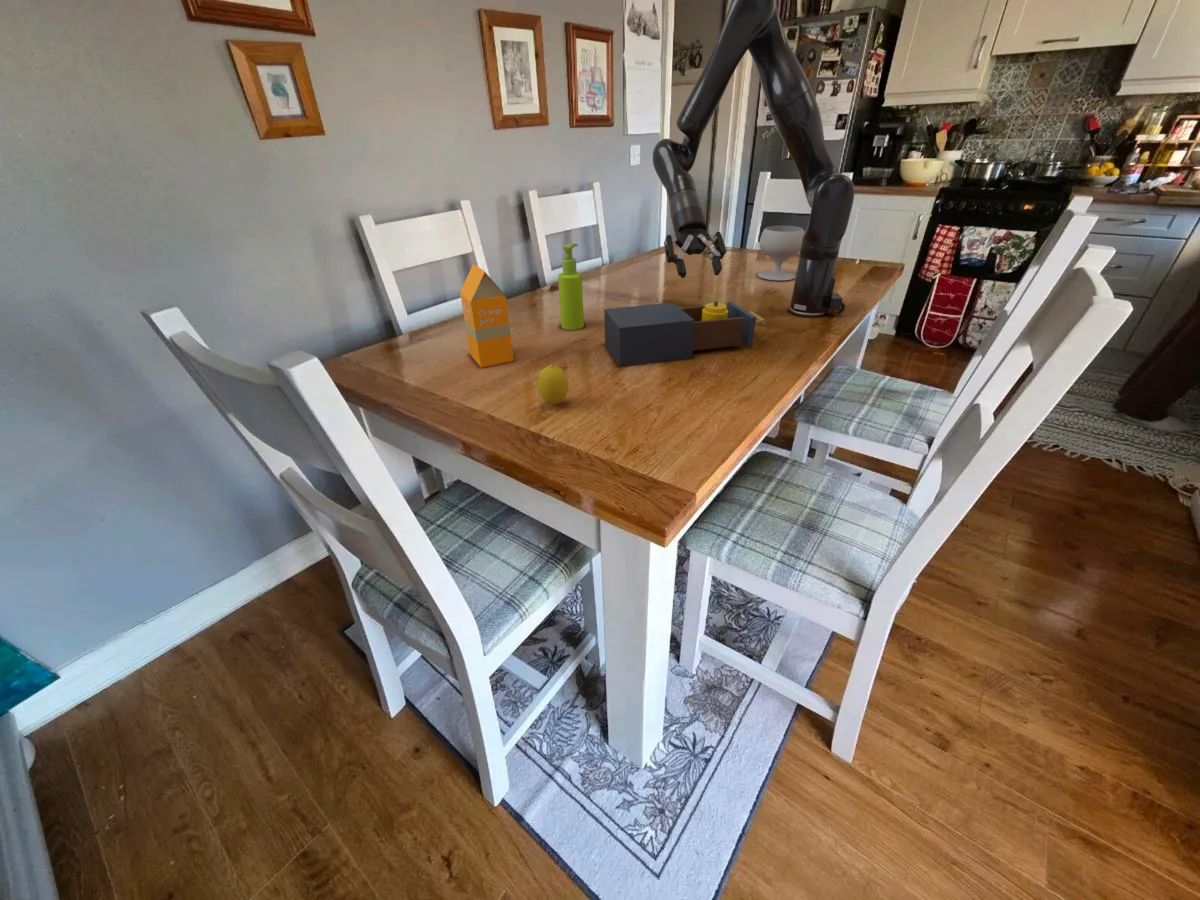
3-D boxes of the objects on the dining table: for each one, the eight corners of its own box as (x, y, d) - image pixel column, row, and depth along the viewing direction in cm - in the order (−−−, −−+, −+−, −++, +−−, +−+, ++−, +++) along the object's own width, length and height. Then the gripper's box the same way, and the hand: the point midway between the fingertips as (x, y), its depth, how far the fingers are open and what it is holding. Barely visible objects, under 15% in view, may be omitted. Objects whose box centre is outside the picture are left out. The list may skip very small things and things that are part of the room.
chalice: (756, 281, 166) (763, 232, 158) (753, 271, 178) (759, 224, 170) (801, 282, 164) (811, 232, 156) (795, 272, 175) (803, 224, 167)
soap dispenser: (588, 322, 136) (585, 242, 125) (579, 330, 131) (575, 248, 120) (568, 320, 138) (563, 241, 127) (558, 328, 132) (552, 247, 122)
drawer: (744, 327, 127) (748, 299, 123) (769, 344, 117) (774, 315, 113) (669, 335, 124) (670, 307, 120) (687, 353, 113) (689, 323, 110)
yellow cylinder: (724, 331, 121) (728, 297, 117) (726, 340, 117) (730, 305, 112) (699, 331, 122) (702, 297, 118) (700, 339, 117) (703, 305, 113)
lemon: (540, 399, 98) (536, 360, 94) (568, 397, 99) (566, 358, 94) (539, 412, 94) (535, 372, 89) (569, 410, 94) (567, 370, 90)
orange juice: (480, 367, 112) (465, 273, 101) (469, 354, 119) (454, 265, 108) (514, 360, 115) (503, 268, 104) (502, 348, 122) (490, 260, 111)
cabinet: (671, 337, 125) (672, 302, 120) (691, 358, 114) (694, 320, 109) (604, 344, 122) (604, 308, 117) (619, 366, 111) (619, 327, 106)
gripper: (662, 206, 119) (677, 268, 116) (719, 203, 122) (735, 263, 118) (655, 227, 127) (668, 285, 123) (709, 223, 129) (723, 281, 126)
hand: (701, 274), depth 121 cm, fingers open, 8 cm apart
